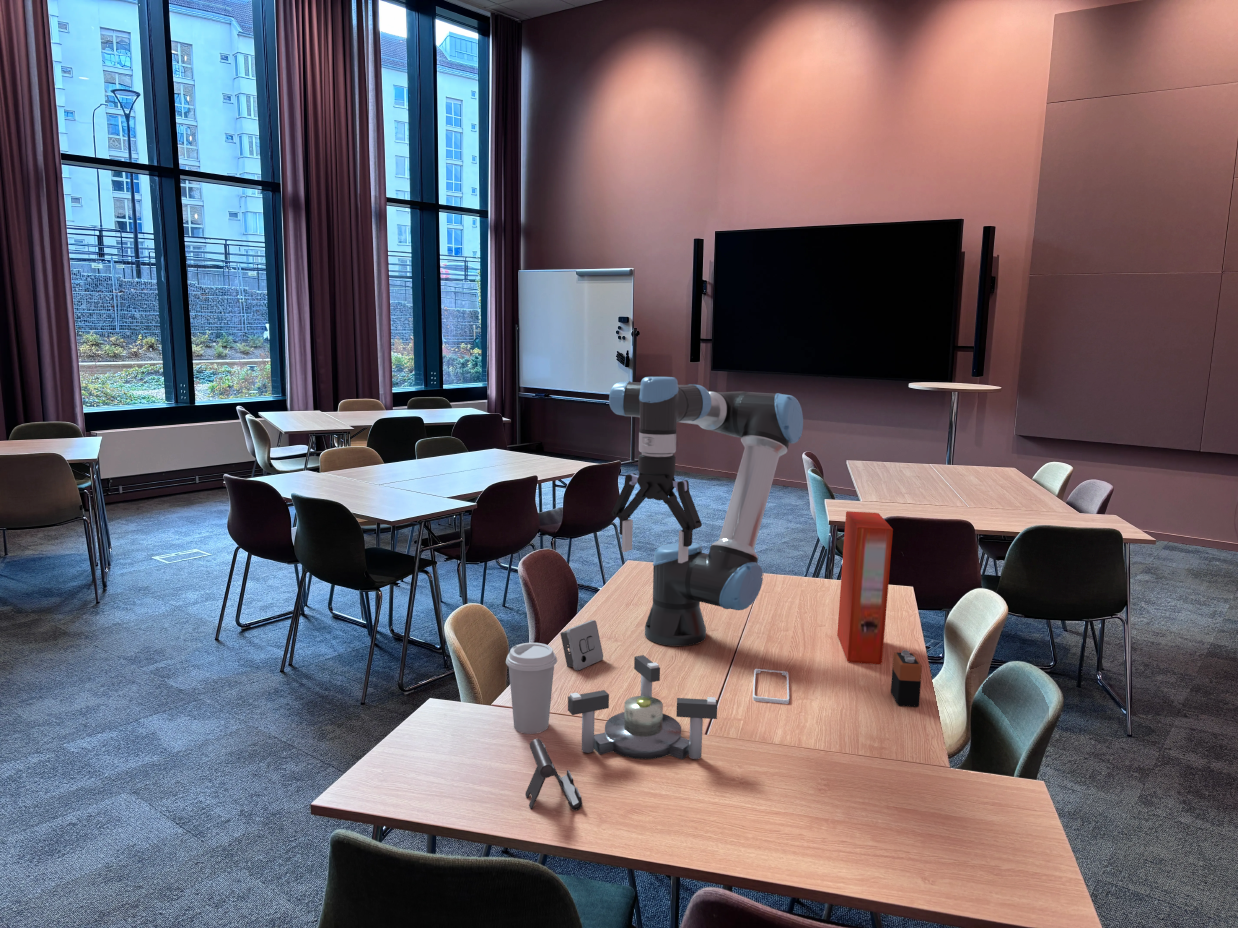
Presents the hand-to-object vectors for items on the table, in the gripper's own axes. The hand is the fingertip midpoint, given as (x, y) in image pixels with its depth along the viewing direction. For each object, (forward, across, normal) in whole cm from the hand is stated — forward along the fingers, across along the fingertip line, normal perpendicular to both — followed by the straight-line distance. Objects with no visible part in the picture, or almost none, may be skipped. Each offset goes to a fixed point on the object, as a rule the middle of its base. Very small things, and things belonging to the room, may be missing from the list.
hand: (654, 556), depth 170 cm
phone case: (+29, +20, +16) cm, 39 cm away
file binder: (+29, +28, +49) cm, 63 cm away
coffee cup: (+29, -9, -28) cm, 41 cm away
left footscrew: (+29, +22, -20) cm, 41 cm away
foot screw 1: (+29, +6, -30) cm, 42 cm away
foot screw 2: (+29, +6, -10) cm, 31 cm away
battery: (+29, +45, +27) cm, 60 cm away
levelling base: (+29, +12, -20) cm, 37 cm away
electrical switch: (+29, -20, +2) cm, 35 cm away
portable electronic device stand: (+29, +10, -45) cm, 54 cm away
